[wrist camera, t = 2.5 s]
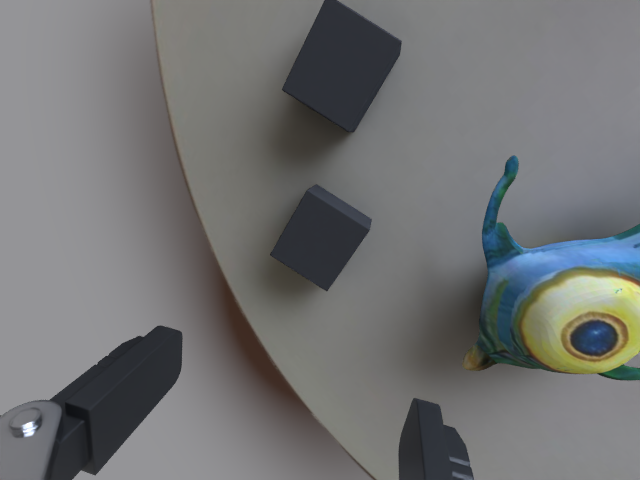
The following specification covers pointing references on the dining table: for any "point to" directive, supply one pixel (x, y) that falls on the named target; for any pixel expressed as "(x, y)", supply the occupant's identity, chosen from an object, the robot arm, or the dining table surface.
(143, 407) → the robot arm
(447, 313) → the dining table surface
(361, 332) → the dining table surface
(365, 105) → the pad
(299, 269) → the pad
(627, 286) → the decorative fish
